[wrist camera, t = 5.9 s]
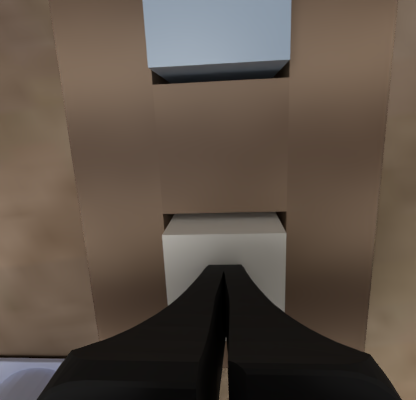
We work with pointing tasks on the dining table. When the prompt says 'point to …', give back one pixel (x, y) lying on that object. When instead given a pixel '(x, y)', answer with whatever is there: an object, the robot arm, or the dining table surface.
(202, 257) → the key white
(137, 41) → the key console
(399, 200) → the dining table surface
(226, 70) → the grey cube
